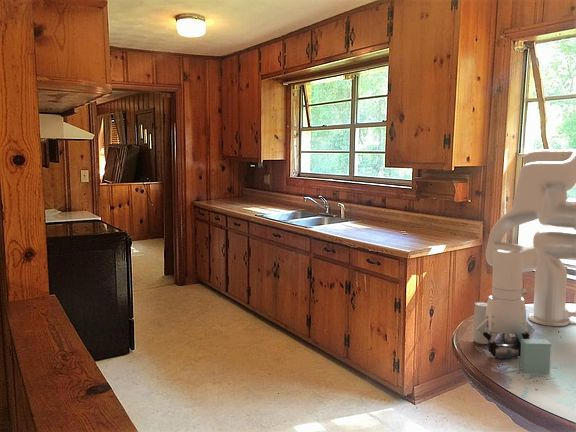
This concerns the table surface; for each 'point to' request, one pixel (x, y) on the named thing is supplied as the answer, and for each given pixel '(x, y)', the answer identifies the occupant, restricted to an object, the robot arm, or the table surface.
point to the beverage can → (478, 319)
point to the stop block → (535, 356)
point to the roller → (507, 350)
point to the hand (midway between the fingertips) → (504, 354)
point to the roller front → (510, 339)
